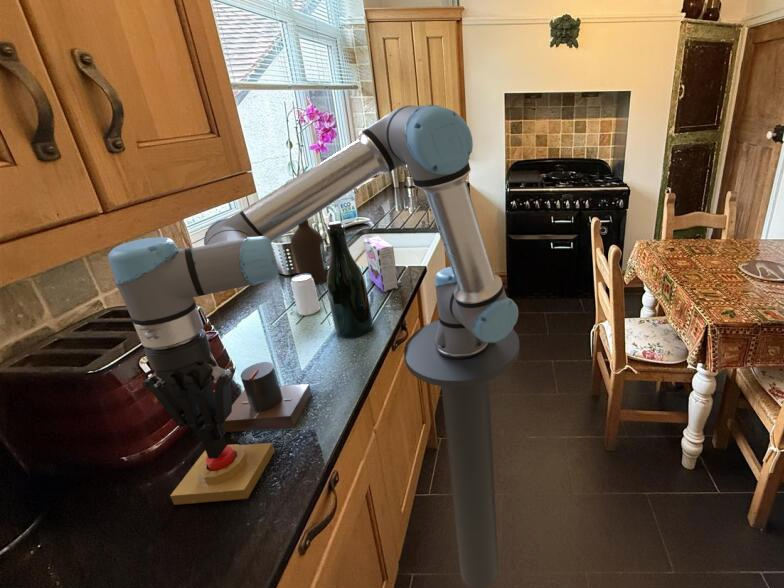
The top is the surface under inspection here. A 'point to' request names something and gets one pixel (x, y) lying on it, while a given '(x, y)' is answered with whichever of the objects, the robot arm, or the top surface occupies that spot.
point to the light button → (221, 459)
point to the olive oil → (310, 252)
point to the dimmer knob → (261, 386)
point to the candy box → (381, 263)
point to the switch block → (224, 476)
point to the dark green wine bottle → (346, 287)
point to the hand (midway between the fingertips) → (217, 451)
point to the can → (305, 294)
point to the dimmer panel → (269, 411)
